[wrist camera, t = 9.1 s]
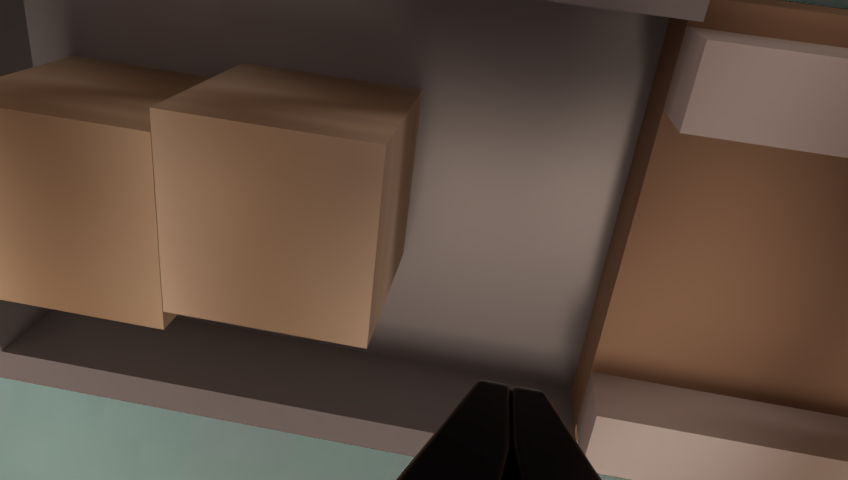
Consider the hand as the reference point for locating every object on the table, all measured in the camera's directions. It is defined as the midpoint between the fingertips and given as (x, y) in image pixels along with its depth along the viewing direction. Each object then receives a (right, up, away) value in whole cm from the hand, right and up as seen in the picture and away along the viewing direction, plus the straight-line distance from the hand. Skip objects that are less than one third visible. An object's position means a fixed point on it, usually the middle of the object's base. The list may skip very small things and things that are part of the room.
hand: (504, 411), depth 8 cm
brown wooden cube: (-3, +4, +7) cm, 9 cm away
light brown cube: (-7, +4, +7) cm, 11 cm away
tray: (-4, +4, +8) cm, 9 cm away
